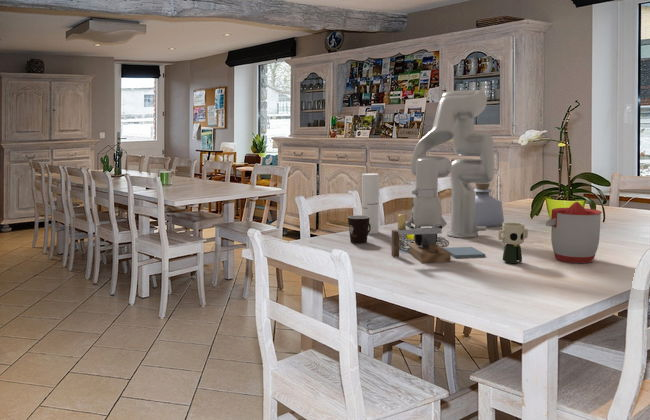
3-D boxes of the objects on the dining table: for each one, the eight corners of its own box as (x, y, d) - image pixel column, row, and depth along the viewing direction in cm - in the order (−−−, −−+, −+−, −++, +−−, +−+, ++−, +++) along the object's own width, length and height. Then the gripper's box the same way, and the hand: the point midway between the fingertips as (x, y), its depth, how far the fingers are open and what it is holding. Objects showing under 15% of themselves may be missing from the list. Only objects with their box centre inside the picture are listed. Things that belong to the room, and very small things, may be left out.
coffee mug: (346, 240, 246) (346, 215, 245) (367, 239, 247) (367, 215, 246) (350, 246, 235) (350, 220, 234) (372, 245, 236) (372, 219, 234)
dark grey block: (429, 244, 222) (429, 227, 221) (436, 248, 214) (436, 231, 213) (415, 244, 221) (416, 228, 220) (422, 249, 213) (422, 232, 212)
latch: (439, 232, 210) (439, 213, 209) (441, 233, 207) (442, 214, 206) (397, 233, 208) (397, 214, 207) (398, 234, 205) (399, 215, 204)
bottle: (503, 221, 291) (504, 181, 288) (505, 228, 272) (506, 185, 269) (459, 219, 295) (460, 180, 293) (458, 226, 276) (459, 184, 274)
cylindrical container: (377, 234, 260) (377, 174, 256) (360, 233, 261) (360, 174, 258) (379, 231, 267) (379, 173, 263) (363, 230, 268) (363, 173, 264)
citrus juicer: (539, 254, 217) (541, 198, 214) (590, 255, 215) (593, 198, 212) (550, 265, 201) (553, 204, 199) (605, 265, 200) (609, 204, 197)
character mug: (503, 266, 201) (504, 226, 199) (492, 261, 207) (493, 223, 206) (532, 263, 204) (534, 224, 202) (520, 259, 210) (521, 221, 209)
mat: (471, 249, 227) (471, 246, 227) (485, 256, 214) (485, 254, 214) (442, 250, 225) (442, 247, 225) (454, 258, 213) (455, 255, 213)
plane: (429, 247, 230) (429, 223, 229) (450, 262, 207) (451, 235, 206) (384, 249, 228) (384, 225, 227) (401, 263, 205) (401, 237, 203)
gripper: (405, 195, 210) (405, 247, 213) (453, 194, 212) (452, 245, 215) (400, 192, 217) (399, 243, 220) (446, 191, 220) (445, 241, 222)
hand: (425, 244), depth 217 cm, fingers closed on dark grey block, 5 cm apart
